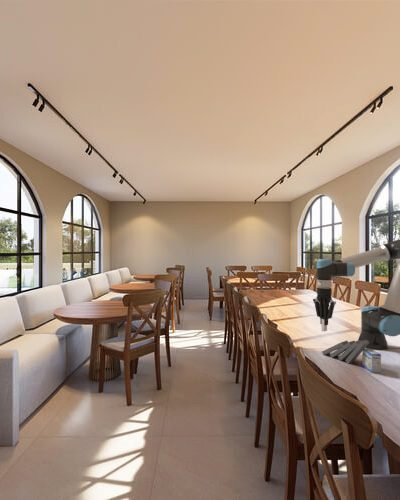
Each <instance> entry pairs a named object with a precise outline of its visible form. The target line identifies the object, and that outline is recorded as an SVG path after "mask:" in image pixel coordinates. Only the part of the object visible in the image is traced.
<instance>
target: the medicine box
mask: <svg viewBox="0 0 400 500" xmlns="http://www.w3.org/2000/svg"><path fill="white" fill-rule="evenodd" d="M361 354H362V356H361V360H362V361H361V366H362V367H363V368H364V369H366V370H367V371H369V372H370V373H377V374H379V373H382V371H381V369H382V354H381V353H379V352H377V351H376V350H375V349H370V348H364V349H363V350H362V352H361Z"/></svg>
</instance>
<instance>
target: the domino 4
mask: <svg viewBox="0 0 400 500" xmlns="http://www.w3.org/2000/svg"><path fill="white" fill-rule="evenodd" d="M368 344H369V342H368V341H367V340H363V341H361V342H360V343H359V344H358V345H357V347H356V348H355V349H354V350H353V352H352V353H351V354H350V355H349V357H348V358H347V359H345V362H346V363H347V364H351V363H353V362H355V361H356V360H357V358H359V356H360V354H362V350H363V349H366V346H367V345H368Z"/></svg>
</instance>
